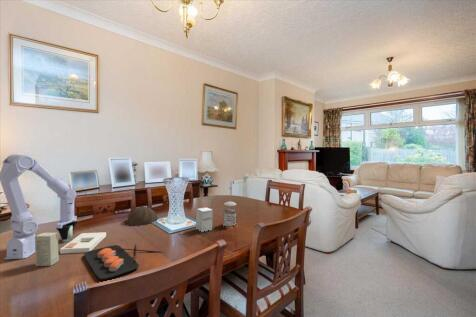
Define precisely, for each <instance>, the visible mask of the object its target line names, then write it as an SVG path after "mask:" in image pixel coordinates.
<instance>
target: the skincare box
mask: <svg viewBox="0 0 476 317" xmlns="http://www.w3.org/2000/svg"><path fill="white" fill-rule="evenodd" d="M34 254H35V267H47V266H48V267H51V266H53V265H55V264H56V263H58V262H59V260H60V259H59V232H42V233H39V234H37V235H35V253H34Z"/></svg>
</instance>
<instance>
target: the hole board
mask: <svg viewBox="0 0 476 317" xmlns="http://www.w3.org/2000/svg"><path fill="white" fill-rule="evenodd" d="M106 237H107V232H81V233H80V234H79V235H78V236H76V237H75V238H73V240H71V241H69V242H67V243H66V244H65V245H63V246H62V247H61V248H60V249H59V254H60V255H61V254H62V255H63V254H76V253H77V254H80V253H86V252H88V251H92V250H94V248H95V247H96V246H98V244H100V243H101V242H102V241H103V239H105V238H106Z"/></svg>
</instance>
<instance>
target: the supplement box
mask: <svg viewBox="0 0 476 317" xmlns="http://www.w3.org/2000/svg"><path fill="white" fill-rule="evenodd" d="M195 213H196V216H195V217H196V218H195V230H197V229H198V230H199V231H198V230H197V231H198V232H200V231H201V232H200V233H204V231H205V232H208V230H209V231H213V209H212V208H209V207H200V208H196V212H195Z"/></svg>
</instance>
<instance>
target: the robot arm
mask: <svg viewBox="0 0 476 317" xmlns="http://www.w3.org/2000/svg"><path fill="white" fill-rule="evenodd" d="M27 171H30V172H32V173H34V174H36V175H37V176H38V177H39V178H41V179H42V180H44V181H45V182H46V186H47V187H48V188H49V189H50V190H52V191H53V192H54V194H56V195H57V198H59V200H60V202H59V205H60V207H59V208H60V209H59V213H60V214H59V215H60V216H59V221H58V222H57V223H56V227H55V229H56V230H57V232H58V234H59V235H60V238H61V241H62V240H66V239H67V238H68V231H69V228H70V227H71V226H73V232H74V231H75V228H76V226H77V223H78V219H77V218H78V216H77V215H75V200H76V197H77V195H78V192H77V191H76V190H75V189H74V188H72V187H71V185H69V184H67V183H66V182H65V181H64V179H63V178H61V177H58V176H56V177H54V175H52V174H51V173H50V172H49V171H48V170H47V169H46V168H45V167H44V166H43V165H41V163H39V161H38V160H37V159H34V158H33V157H32V156H31V155H28V154H17V153H14V154H13V153H12V154H10V155H8V156H7V157H6V158H5V159H4V160H3V161H2V166H1V169H0V184H1V188H2V190H3V192H4V195H5V199H6V202H7V205H8V208H9V210H10V213H11V217H10V225H9V226H10V227H9V228H10V230H12V231H13V233H12V238H11V239H10V240H8V242H7V243H6V257H4V258H3V259H4V260H18V259H27V258H28V257H30V256H32V255H33V254H35V236H36V231H37V230H38V228H39V222H38V221H36V220H35V219H34V216H33V215H32V214H31V213H30V212H29V209H28V206H27V203H26V202H27V201H26V200H25V197H24V193H23V190H22V188H21V185H20V181H19V177H20V176H21V175H22V174H23V173H25V172H27ZM68 225H71V226H68Z"/></svg>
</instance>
